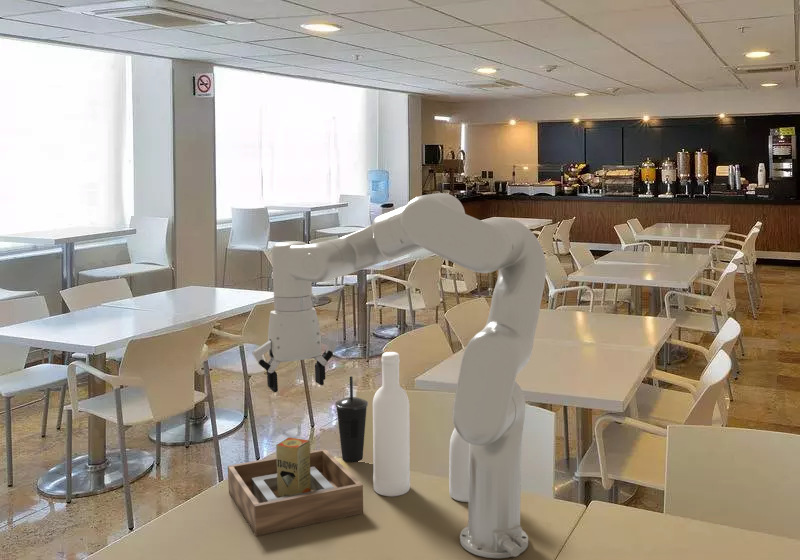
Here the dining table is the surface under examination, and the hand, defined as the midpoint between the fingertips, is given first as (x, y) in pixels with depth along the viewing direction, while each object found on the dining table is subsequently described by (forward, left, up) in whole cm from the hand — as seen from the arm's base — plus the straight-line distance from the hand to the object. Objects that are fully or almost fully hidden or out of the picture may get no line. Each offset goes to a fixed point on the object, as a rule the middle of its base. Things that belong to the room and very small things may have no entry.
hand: (297, 387), depth 160 cm
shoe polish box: (+1, +1, -24) cm, 24 cm away
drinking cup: (+18, -19, -25) cm, 36 cm away
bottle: (-2, -20, -25) cm, 32 cm away
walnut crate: (+1, +1, -25) cm, 25 cm away
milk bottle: (-12, -33, -25) cm, 43 cm away
